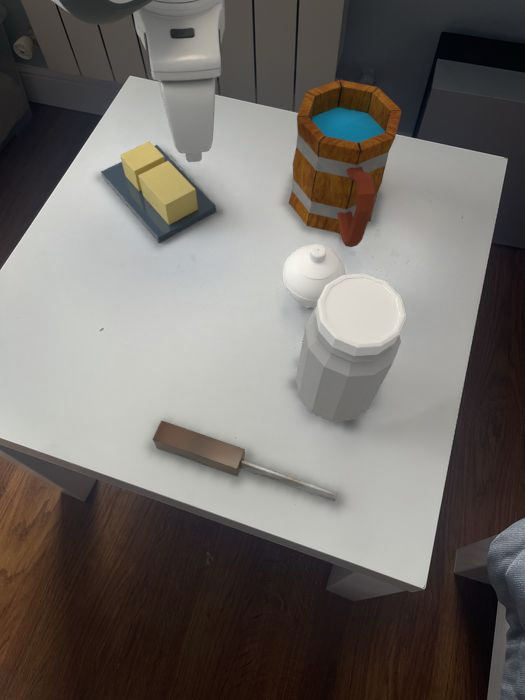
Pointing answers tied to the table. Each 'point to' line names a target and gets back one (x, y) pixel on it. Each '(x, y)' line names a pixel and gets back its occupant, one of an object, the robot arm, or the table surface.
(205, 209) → the butter dish
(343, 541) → the table surface
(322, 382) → the jar
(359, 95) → the mug
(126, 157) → the block
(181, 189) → the butter block
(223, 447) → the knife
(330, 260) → the spinning top
